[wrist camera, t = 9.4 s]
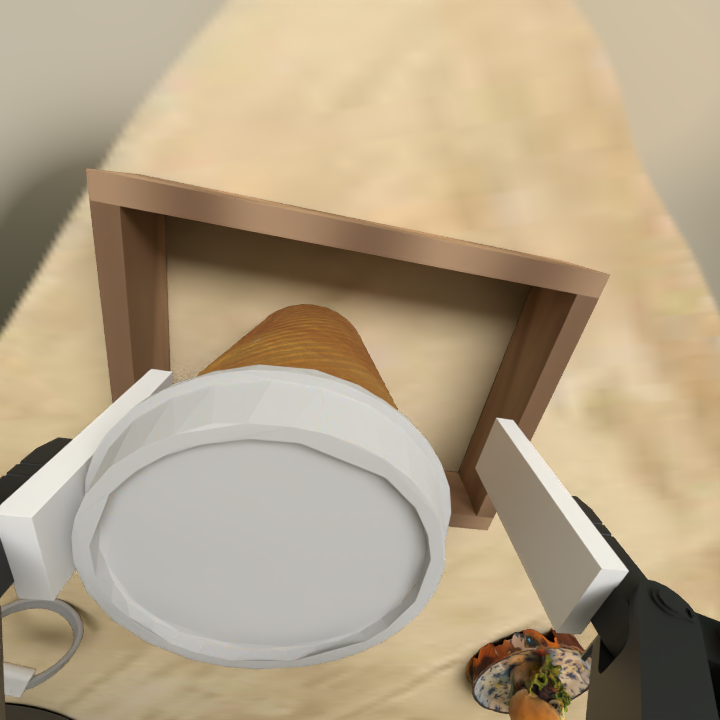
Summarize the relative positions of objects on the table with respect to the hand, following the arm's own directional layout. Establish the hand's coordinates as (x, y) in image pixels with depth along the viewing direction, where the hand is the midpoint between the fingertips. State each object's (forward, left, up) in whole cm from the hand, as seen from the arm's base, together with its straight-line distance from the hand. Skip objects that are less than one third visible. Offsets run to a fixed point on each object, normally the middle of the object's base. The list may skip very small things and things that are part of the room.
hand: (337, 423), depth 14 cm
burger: (+23, -28, -6) cm, 37 cm away
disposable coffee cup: (-2, 0, -6) cm, 6 cm away
